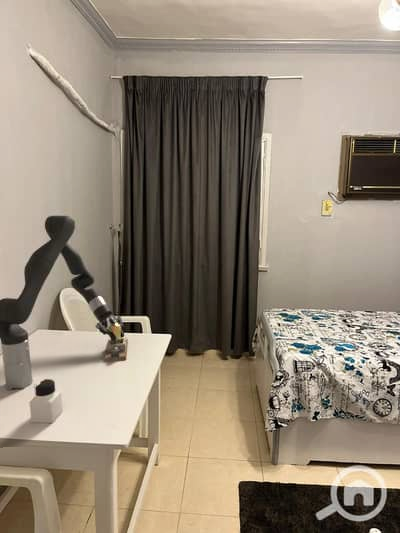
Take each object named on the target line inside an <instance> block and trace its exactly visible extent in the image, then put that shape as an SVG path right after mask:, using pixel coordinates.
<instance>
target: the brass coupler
mask: <svg viewBox="0 0 400 533" xmlns="http://www.w3.org/2000/svg"><path fill="white" fill-rule="evenodd" d="M121 329H122V328H121V326H120V324H118V323H116V324H111V330H112V332H113V333H114V335H115V336H116V340H115V341H113V340H111V344H121Z"/></svg>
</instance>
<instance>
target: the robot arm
mask: <svg viewBox="0 0 400 533" xmlns="http://www.w3.org/2000/svg"><path fill="white" fill-rule="evenodd" d="M75 222H76V221H75V219H74V218H73V217H72V216H69V215H49V216H48V217H47V218H46V219H45V221H44V229H45V231H46V234H47V235H48V237H49V240H48V241H46V243H44V244H43V245H41V246H40V247H38V248H37V249H36V250H35V251H33V253H32V254H30V255H31V256H30V257H29V258H28V260H27V262H26V264H25V266H24V270H23V271H24V272H23V273H24V274H23V276H24V286H23V289H22V291H21V293H20V294H19V296H18V298H11V297H10V298H9V297H5V298H0V345H1V353H2V362H3V370H4V379H5V387H6V386H7V387H6V390H7V389H10V390H13V389H12V388H21V389H25V388H26V387H27V386H30V385H31V384H32V383H33V381H34V380H33V371H32V361H31V352H30V342H29V341H30V340H29V333H28V331H27V330H26V329H24V328H23V327H21V326H20V325H23V324H24V323H25V322H26V321H27V320H28V319H29V317H30V316H31V315H32V311H33V309H34V307H35V304H36V302H37V299H38V297H39V294H40V293H41V290H42V288H43V287H44V284H45V282H46V280H47V279H48V276H49V274H50V273H51V272H52V269H53V268H54V266H55V264H56V261H57V260H58V258H59V256H60V255H61V256H62V258H63V259H64V262H65V263H66V266H67V268H68V270H69V272H70V274H71V275H72V276H73V275H74V277H73V278H71V282H70V284H71V285H70V286H71V288H72V289H74V290H75V291H76V292H77V293H79V295H80V296H81V297H82V298H84V300H85V301H86V303H87V305H88V306H89V309H90V310H91V312H92V314H93V315H94V317H95V318H96V320H97V321H98V322H97V323H96V324H95V328H96V329H98V331H100V333H101V334H103V335H108V336H109V339H111V340H113V341H115V340H116V336H115V335H114V333H113V332H112V330H111V324H116V323H118V324H120V326H121V338H125V332H124V331H123V328H124V322H123V321H122V320H123V319H122V316H121V315H118V316H115V315H114V314H113V311H112V309H111V308H110V306H109V305H108V303H107V301H106V300H105V299H104V298H103V297H102V295H101V293H100V292H99V290H98V289H97V288H95V287H92V286H93V285H94V284H95V277H94V276H93V274H92V273H91V272H90V271H89V270H88V269H87V267H86V266H85V263H84V261H83V258H82V256H81V255H80V253H79V252H78V251H77V249H75V248H74V247H73V246H72V245H71V244H70V243H69V240H70V239H71V237H73V234H74V232H75V230H76V223H75ZM89 287H91V288H89Z"/></svg>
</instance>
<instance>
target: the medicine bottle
mask: <svg viewBox="0 0 400 533" xmlns="http://www.w3.org/2000/svg"><path fill="white" fill-rule="evenodd" d="M55 383H56V382H55V380H54V379H51V378H50V379H49V378H46V379H41V380H39V381H36V382H35V384H34V385H33V388H34V397H33V398H32V399H31V400H30V401H29V412H30V420H31V421H30V422H31V423H37V424H38V423H39V424H40V423H41V424H53V423H54V422H56V420H57V418H59V416H60V415H61V414H62V413H63V398H62V391H58V390H56V385H55Z"/></svg>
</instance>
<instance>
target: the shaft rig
mask: <svg viewBox="0 0 400 533" xmlns="http://www.w3.org/2000/svg"><path fill="white" fill-rule="evenodd" d="M128 344H129V340H128V338H126V337H123V338H121V344H111V338H108V339H107V344H106V351H105V355H104V362H113V361H124V360H125V361H126V360H127V354H128Z"/></svg>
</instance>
